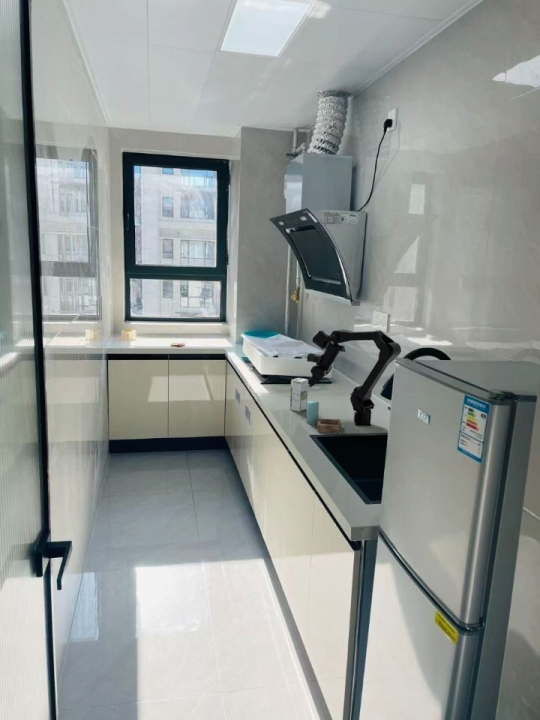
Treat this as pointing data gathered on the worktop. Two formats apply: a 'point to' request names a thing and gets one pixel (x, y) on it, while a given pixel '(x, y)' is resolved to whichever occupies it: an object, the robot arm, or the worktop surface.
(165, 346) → the worktop surface
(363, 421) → the robot arm
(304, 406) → the syrup box
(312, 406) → the peg
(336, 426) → the collar
